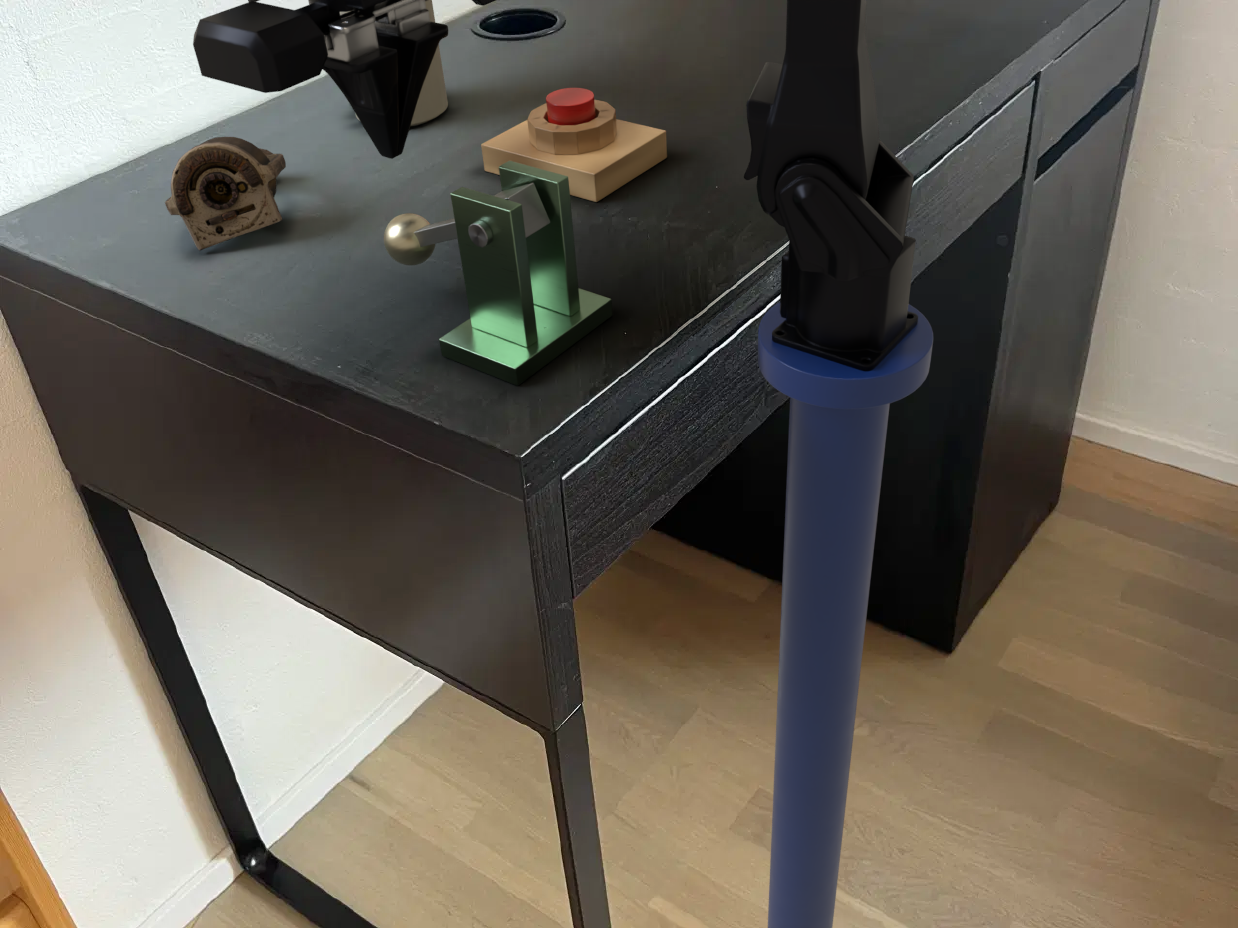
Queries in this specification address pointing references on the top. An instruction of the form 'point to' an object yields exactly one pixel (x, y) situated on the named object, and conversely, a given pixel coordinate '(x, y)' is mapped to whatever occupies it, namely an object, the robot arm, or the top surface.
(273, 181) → the mechanical counter
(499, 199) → the bracket
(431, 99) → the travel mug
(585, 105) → the button
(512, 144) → the button block
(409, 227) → the lever
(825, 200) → the robot arm
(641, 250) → the top surface
